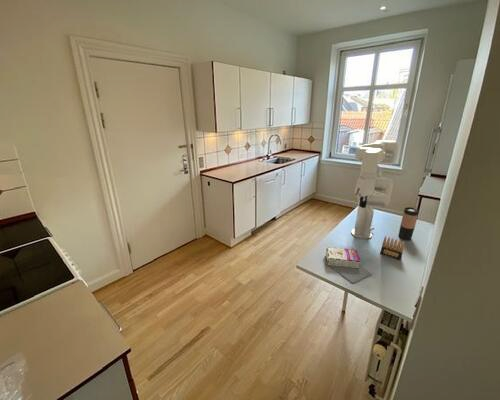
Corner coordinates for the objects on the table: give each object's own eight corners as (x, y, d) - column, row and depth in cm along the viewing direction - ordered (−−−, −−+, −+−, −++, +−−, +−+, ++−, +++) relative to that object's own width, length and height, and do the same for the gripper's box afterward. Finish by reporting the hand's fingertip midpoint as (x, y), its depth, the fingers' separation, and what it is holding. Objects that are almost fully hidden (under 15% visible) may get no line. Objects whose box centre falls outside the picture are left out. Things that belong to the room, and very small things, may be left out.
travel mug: (398, 239, 155) (405, 211, 147) (397, 233, 161) (403, 206, 154) (412, 241, 152) (420, 213, 145) (410, 235, 159) (417, 208, 151)
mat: (344, 256, 139) (345, 255, 139) (372, 274, 124) (372, 273, 124) (326, 263, 133) (326, 262, 133) (352, 283, 118) (352, 282, 118)
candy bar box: (355, 256, 137) (325, 253, 141) (356, 249, 135) (326, 246, 139) (359, 269, 127) (327, 265, 131) (360, 261, 125) (328, 257, 129)
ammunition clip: (401, 259, 136) (406, 240, 131) (400, 260, 134) (405, 242, 130) (380, 252, 142) (384, 234, 138) (379, 253, 141) (383, 236, 136)
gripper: (371, 171, 132) (365, 202, 139) (351, 175, 126) (347, 207, 132) (383, 174, 125) (377, 206, 132) (363, 178, 119) (358, 212, 126)
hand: (362, 206), depth 132 cm, fingers closed
